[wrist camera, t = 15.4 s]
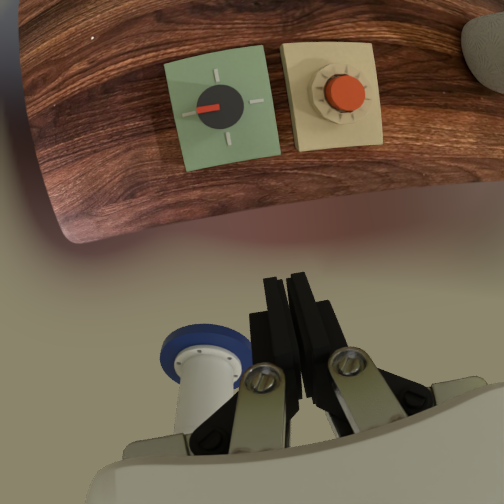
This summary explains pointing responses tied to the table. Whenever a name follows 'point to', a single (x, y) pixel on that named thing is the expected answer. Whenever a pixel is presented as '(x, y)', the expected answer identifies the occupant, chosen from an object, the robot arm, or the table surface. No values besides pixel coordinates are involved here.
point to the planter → (485, 49)
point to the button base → (315, 101)
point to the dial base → (249, 125)
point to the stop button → (345, 93)
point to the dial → (220, 106)
